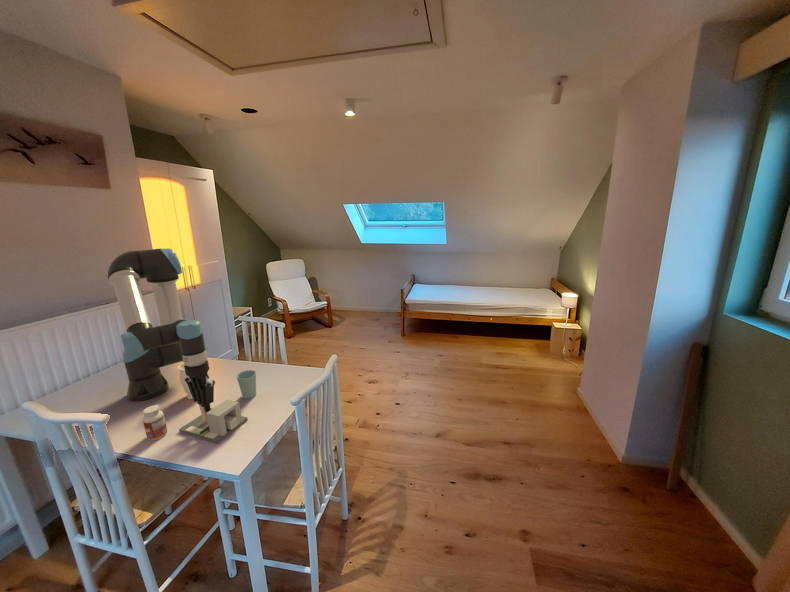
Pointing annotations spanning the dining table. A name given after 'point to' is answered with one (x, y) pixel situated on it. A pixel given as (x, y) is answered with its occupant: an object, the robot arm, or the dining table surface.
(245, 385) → the cup
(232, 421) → the plunger
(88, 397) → the dining table surface
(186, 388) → the jar
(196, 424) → the board
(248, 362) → the dining table surface
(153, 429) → the pill bottle
